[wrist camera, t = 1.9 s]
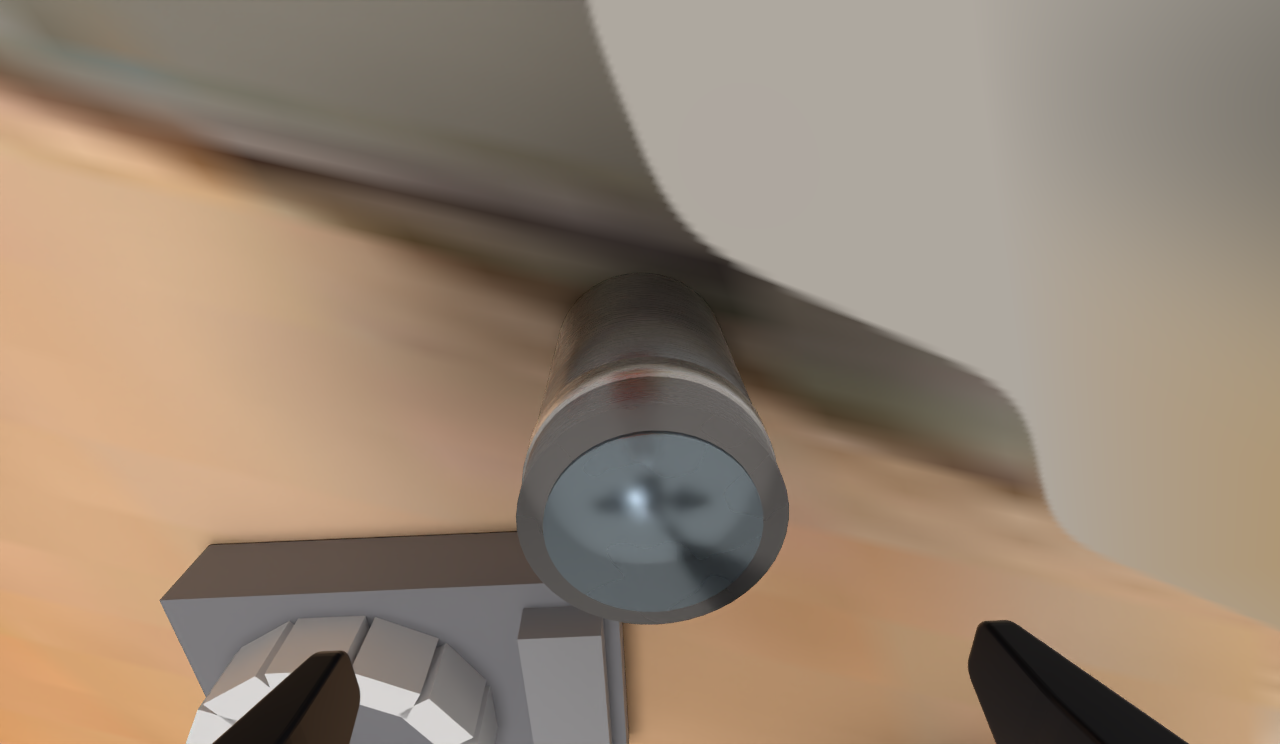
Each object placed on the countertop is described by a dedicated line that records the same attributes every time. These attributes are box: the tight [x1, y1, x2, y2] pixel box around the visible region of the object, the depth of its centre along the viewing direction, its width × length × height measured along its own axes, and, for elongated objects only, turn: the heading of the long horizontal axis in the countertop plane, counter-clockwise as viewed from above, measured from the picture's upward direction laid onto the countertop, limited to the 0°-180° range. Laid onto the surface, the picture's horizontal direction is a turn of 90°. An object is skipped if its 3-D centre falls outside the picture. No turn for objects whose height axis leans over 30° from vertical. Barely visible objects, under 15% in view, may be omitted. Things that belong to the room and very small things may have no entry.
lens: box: [516, 273, 789, 624], centre depth 15 cm, size 5×5×8 cm
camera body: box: [160, 532, 629, 744], centre depth 21 cm, size 14×11×4 cm
